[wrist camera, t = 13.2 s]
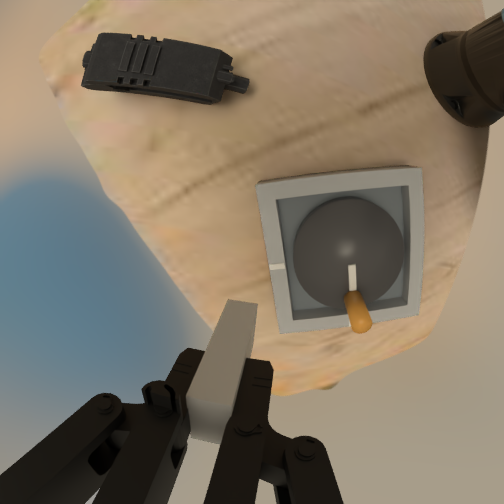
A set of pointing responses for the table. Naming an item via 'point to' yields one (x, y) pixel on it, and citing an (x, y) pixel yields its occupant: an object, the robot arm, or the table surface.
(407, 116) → the table surface
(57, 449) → the robot arm
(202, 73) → the tool
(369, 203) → the crank dial
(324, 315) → the square crank box
